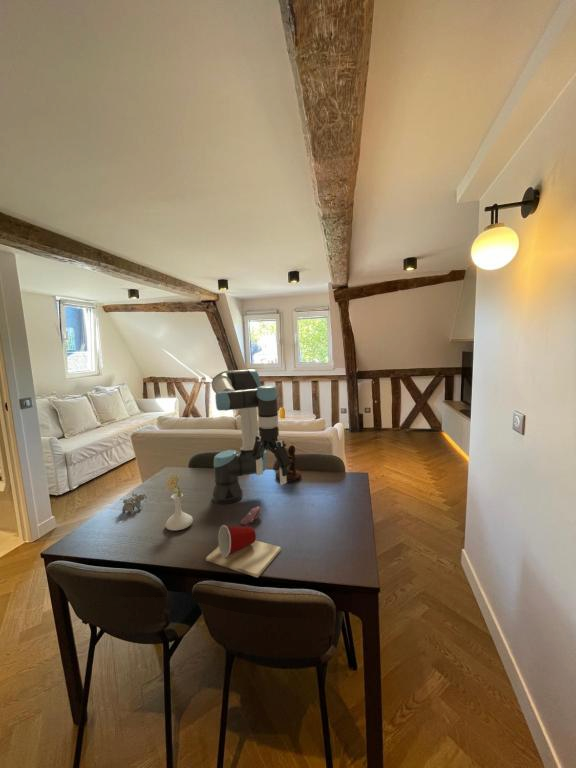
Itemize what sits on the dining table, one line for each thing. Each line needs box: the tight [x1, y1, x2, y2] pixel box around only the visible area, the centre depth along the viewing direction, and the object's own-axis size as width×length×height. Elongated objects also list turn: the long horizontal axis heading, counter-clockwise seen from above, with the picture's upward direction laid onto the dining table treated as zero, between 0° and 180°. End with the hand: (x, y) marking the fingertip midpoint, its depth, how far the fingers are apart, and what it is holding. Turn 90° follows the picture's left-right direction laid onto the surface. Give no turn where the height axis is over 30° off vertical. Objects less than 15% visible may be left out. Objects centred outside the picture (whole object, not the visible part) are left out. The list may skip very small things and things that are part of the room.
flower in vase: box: [165, 472, 194, 532], centre depth 141 cm, size 13×11×25 cm
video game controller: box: [240, 506, 263, 525], centre depth 144 cm, size 10×5×7 cm, turn 150°
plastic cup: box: [217, 524, 257, 558], centre depth 122 cm, size 11×11×12 cm
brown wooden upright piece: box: [275, 443, 302, 484], centre depth 188 cm, size 15×15×20 cm
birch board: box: [205, 539, 282, 578], centre depth 121 cm, size 22×16×1 cm
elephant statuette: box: [121, 492, 147, 516], centre depth 159 cm, size 9×12×8 cm
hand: (271, 478), depth 129 cm, fingers open, 13 cm apart
